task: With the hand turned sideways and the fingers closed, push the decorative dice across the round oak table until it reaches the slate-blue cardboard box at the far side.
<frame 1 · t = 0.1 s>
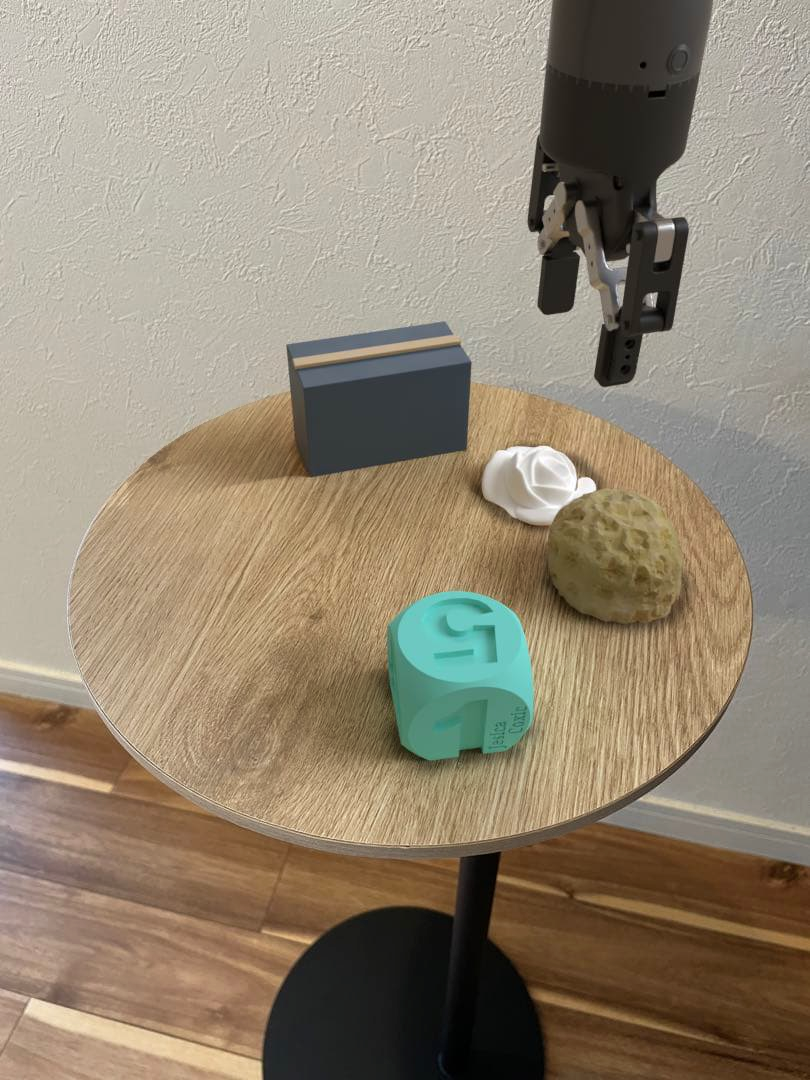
hand: (582, 345, 58), 22 cm above the table, tool pointing down, fingers open, 8 cm apart
decorative dice: (454, 718, 65), on the table
rose: (536, 498, 82), on the table
rock: (608, 592, 74), on the table
box: (379, 450, 87), on the table
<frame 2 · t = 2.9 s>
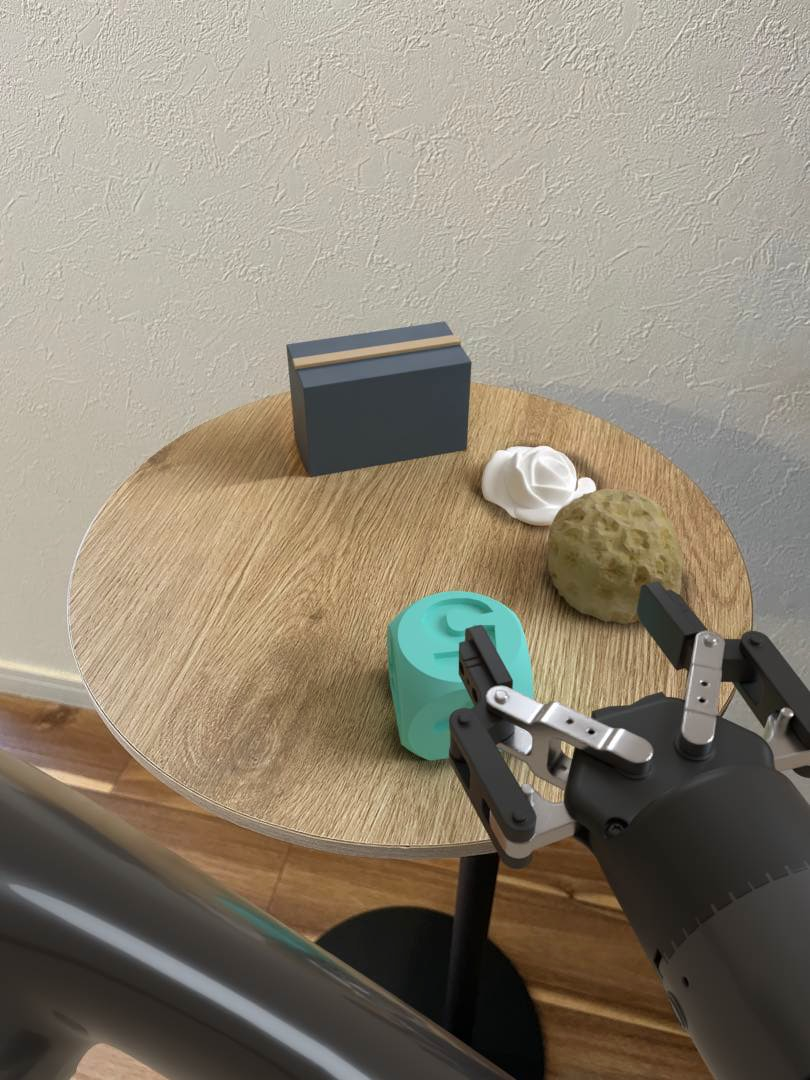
hand: (560, 617, 44), 20 cm above the table, tool horizontal, fingers open, 8 cm apart
nothing on the table moved.
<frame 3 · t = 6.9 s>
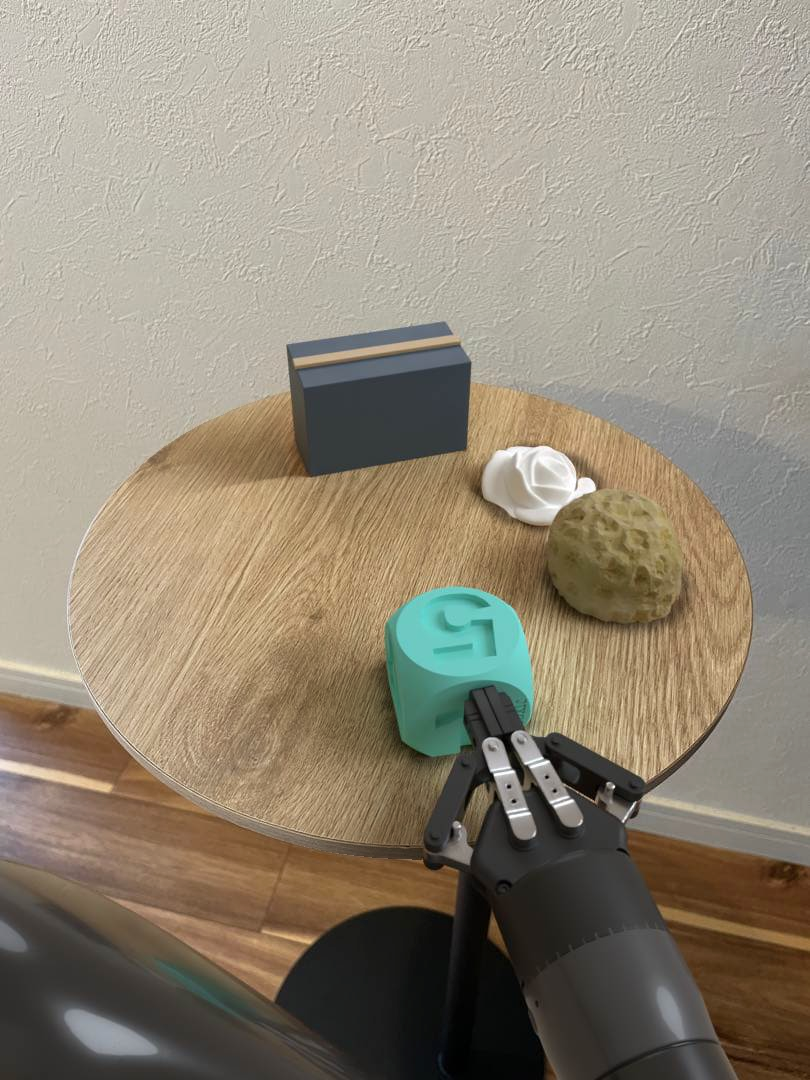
hand: (479, 696, 57), 7 cm above the table, tool horizontal, fingers closed
decorative dice: (454, 714, 65), on the table, touching gripper
everything else where it was.
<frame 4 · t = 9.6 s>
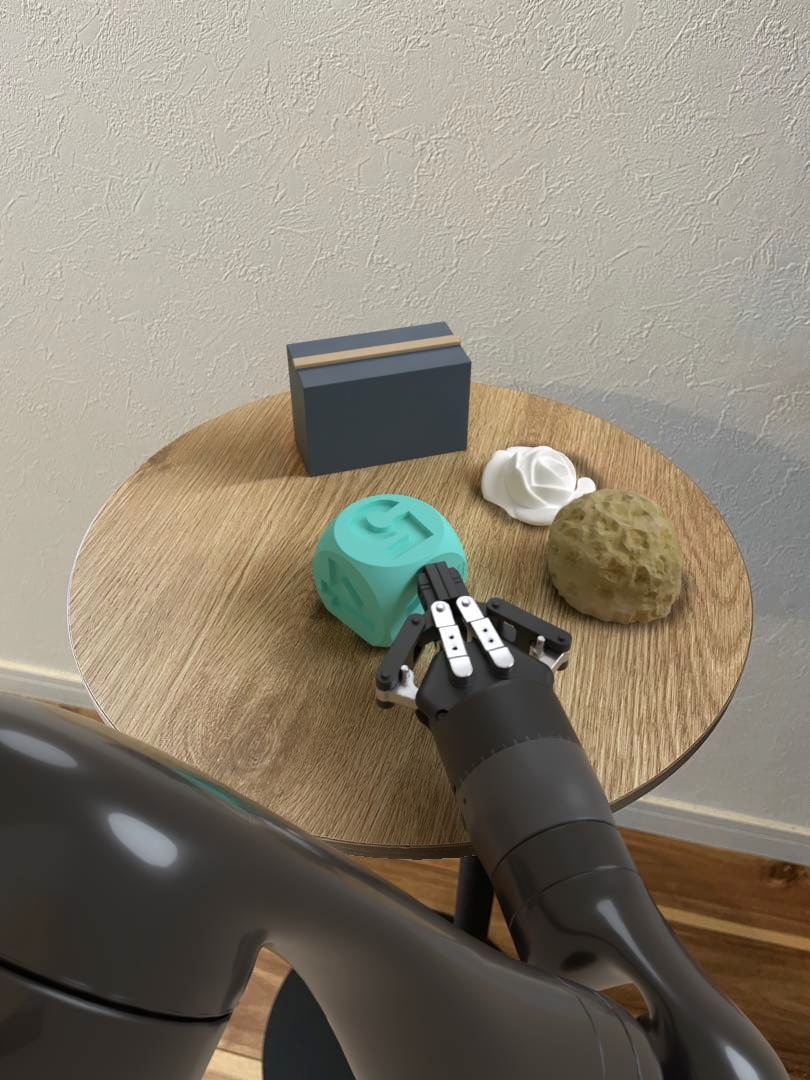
hand: (432, 572, 65), 7 cm above the table, tool horizontal, fingers closed
decorative dice: (390, 612, 72), on the table, touching gripper
everything else where it was.
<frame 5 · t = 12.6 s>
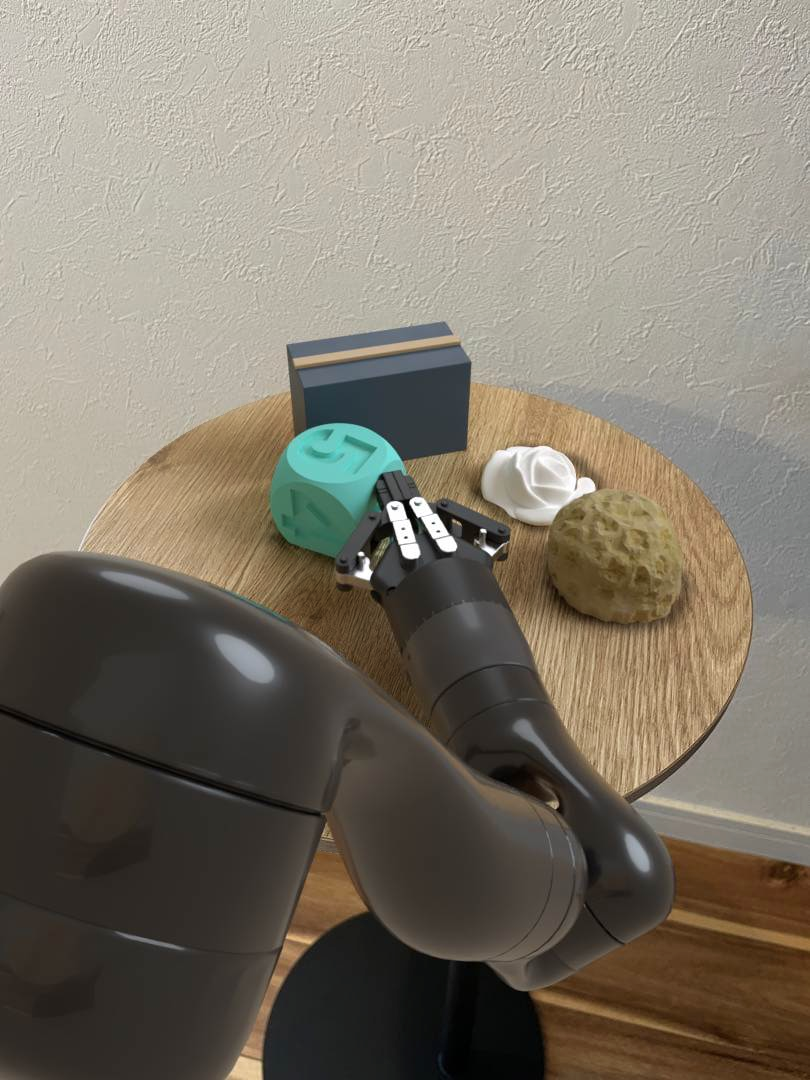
hand: (390, 480, 72), 7 cm above the table, tool horizontal, fingers closed
decorative dice: (341, 533, 78), on the table, touching gripper
everything else where it was.
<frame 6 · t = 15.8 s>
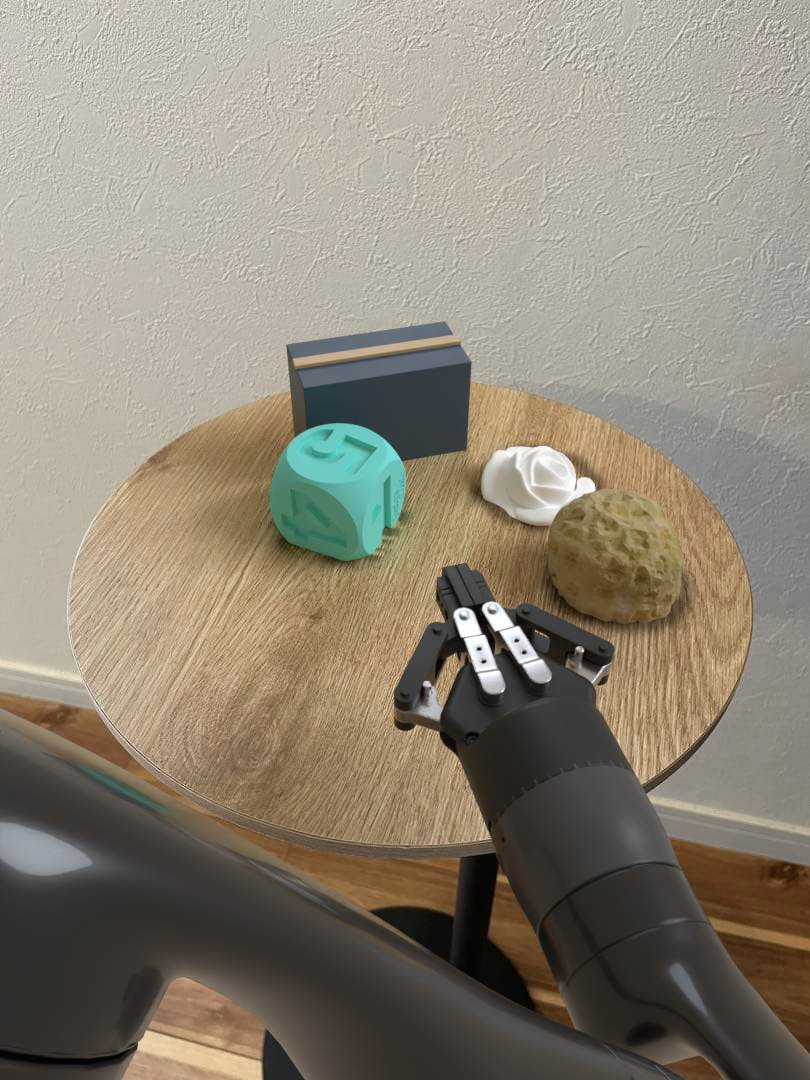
hand: (452, 575, 58), 12 cm above the table, tool horizontal, fingers closed
decorative dice: (341, 533, 78), on the table
everything else where it was.
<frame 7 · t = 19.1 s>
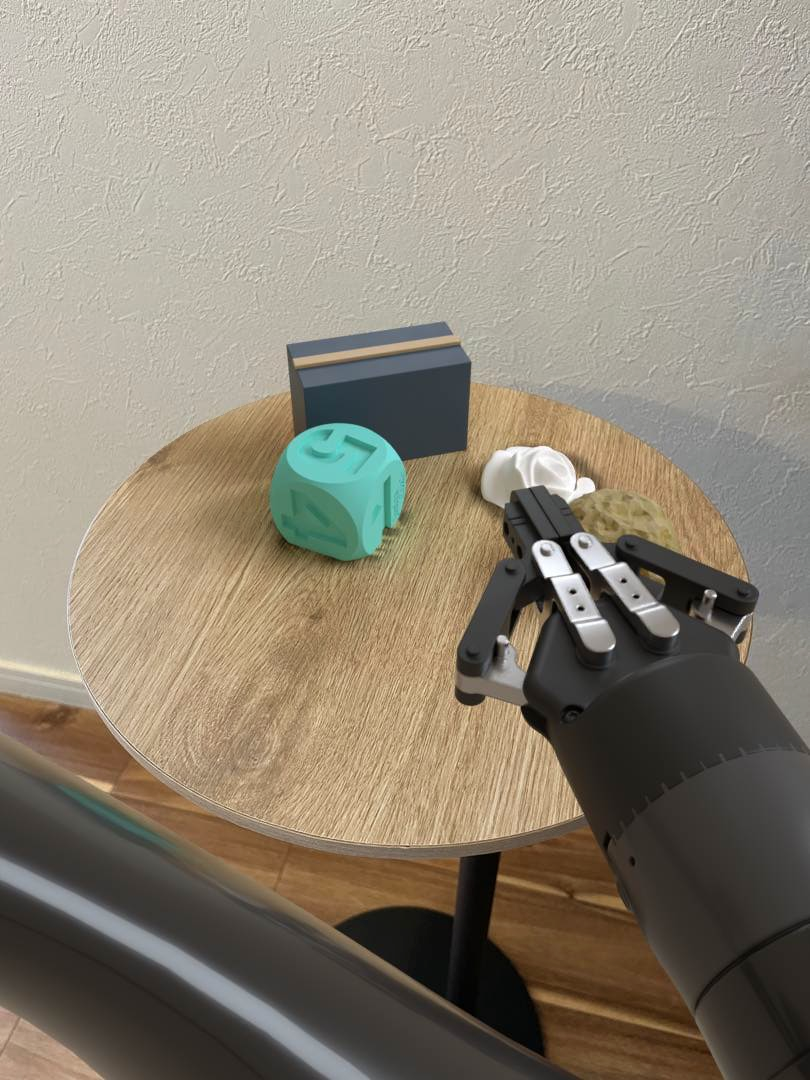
hand: (523, 502, 44), 24 cm above the table, tool horizontal, fingers closed
nothing on the table moved.
at the end: decorative dice 11.4 cm from the box (horizontally); decorative dice moved 20.4 cm from its start; decorative dice on the table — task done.
